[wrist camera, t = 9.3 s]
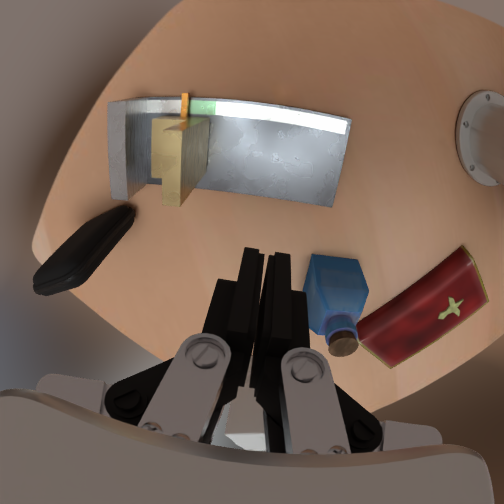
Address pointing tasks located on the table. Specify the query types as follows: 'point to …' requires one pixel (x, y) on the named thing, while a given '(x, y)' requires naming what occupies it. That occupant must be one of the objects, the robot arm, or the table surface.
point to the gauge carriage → (179, 153)
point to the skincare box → (246, 419)
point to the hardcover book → (424, 310)
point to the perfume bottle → (335, 301)
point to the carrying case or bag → (83, 252)
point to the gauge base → (235, 147)
